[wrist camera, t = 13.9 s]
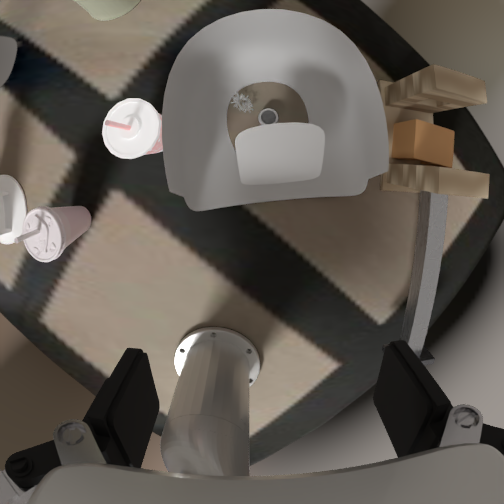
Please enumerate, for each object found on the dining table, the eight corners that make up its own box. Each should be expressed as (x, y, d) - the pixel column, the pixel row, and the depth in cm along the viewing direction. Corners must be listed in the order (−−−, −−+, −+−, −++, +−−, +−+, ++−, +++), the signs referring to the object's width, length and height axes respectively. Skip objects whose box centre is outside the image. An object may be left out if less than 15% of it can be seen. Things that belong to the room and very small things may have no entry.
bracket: (429, 192, 37) (490, 208, 24) (380, 189, 37) (433, 204, 24) (428, 91, 33) (486, 73, 20) (377, 81, 33) (428, 53, 20)
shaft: (418, 344, 38) (433, 363, 34) (381, 349, 38) (395, 370, 34) (442, 185, 32) (465, 190, 27) (402, 182, 32) (424, 186, 27)
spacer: (427, 165, 35) (451, 167, 29) (391, 157, 35) (413, 158, 29) (429, 133, 34) (454, 131, 28) (393, 123, 34) (416, 119, 28)
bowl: (337, 49, 32) (368, 12, 20) (354, 193, 37) (395, 207, 26) (178, 62, 32) (151, 26, 21) (195, 209, 38) (172, 230, 26)
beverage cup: (127, 152, 35) (68, 150, 22) (142, 106, 34) (89, 82, 20) (171, 164, 36) (127, 167, 22) (186, 117, 34) (151, 94, 21)
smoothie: (93, 191, 37) (29, 207, 23) (104, 237, 38) (46, 272, 25) (58, 201, 37) (-8, 222, 23) (68, 245, 39) (8, 279, 25)
